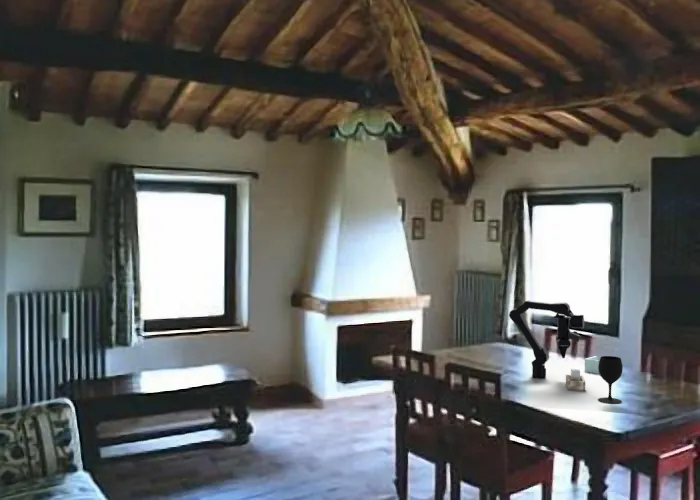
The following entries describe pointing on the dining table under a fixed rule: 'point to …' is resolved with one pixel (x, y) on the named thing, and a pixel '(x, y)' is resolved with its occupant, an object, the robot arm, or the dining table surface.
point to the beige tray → (575, 384)
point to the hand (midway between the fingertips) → (562, 356)
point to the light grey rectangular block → (575, 375)
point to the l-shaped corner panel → (592, 364)
